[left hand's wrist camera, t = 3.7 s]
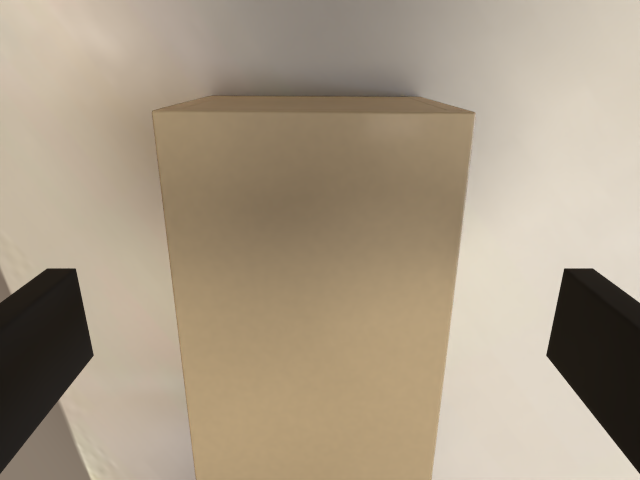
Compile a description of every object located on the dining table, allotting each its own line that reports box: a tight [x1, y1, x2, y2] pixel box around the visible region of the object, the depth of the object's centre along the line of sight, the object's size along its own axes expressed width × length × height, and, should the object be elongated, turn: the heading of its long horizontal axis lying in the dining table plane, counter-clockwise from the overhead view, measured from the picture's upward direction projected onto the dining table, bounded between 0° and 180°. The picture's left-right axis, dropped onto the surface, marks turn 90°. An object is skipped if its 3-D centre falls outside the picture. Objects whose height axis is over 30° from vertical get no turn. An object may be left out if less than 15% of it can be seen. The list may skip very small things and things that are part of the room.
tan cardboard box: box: [152, 96, 476, 480], centre depth 23 cm, size 17×11×9 cm, turn 0°
